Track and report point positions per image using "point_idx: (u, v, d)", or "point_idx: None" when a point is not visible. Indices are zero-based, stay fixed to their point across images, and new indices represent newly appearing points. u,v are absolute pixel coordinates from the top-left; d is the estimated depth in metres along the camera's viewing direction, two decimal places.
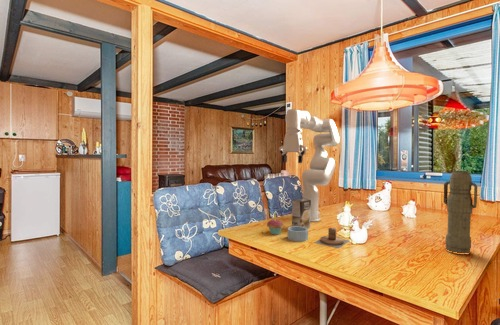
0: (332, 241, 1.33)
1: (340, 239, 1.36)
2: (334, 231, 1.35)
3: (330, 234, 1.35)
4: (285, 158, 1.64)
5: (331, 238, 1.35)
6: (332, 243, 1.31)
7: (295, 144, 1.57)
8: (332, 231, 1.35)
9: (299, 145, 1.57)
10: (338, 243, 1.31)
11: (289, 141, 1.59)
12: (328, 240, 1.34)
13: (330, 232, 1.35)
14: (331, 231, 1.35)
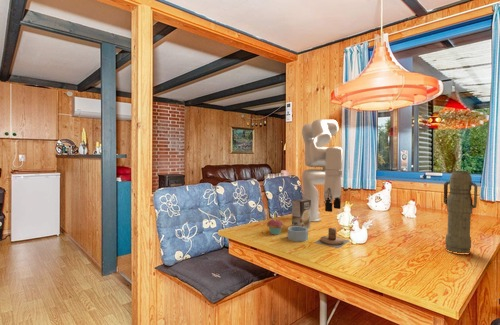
0: (332, 241, 1.33)
1: (340, 239, 1.36)
2: (334, 231, 1.35)
3: (330, 234, 1.35)
4: None
5: (331, 238, 1.35)
6: (332, 243, 1.31)
7: (340, 188, 1.36)
8: (332, 231, 1.35)
9: None
10: (338, 243, 1.31)
11: (337, 185, 1.33)
12: (328, 240, 1.34)
13: (330, 232, 1.35)
14: (331, 231, 1.35)
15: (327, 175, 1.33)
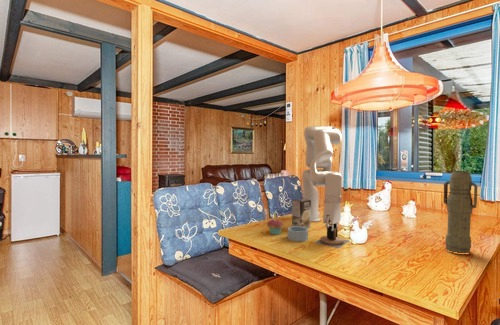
0: (332, 241, 1.33)
1: (340, 239, 1.36)
2: (334, 231, 1.35)
3: None
4: None
5: None
6: (332, 243, 1.31)
7: (339, 213, 1.37)
8: None
9: None
10: (338, 243, 1.31)
11: (337, 211, 1.34)
12: (328, 240, 1.34)
13: None
14: None
15: (326, 201, 1.34)
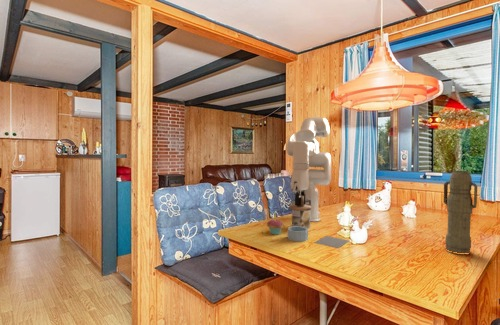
0: (299, 207, 1.37)
1: (308, 206, 1.40)
2: (302, 198, 1.39)
3: None
4: None
5: None
6: (299, 209, 1.35)
7: (307, 181, 1.41)
8: None
9: None
10: (305, 209, 1.35)
11: (304, 178, 1.38)
12: (296, 206, 1.38)
13: None
14: None
15: (294, 168, 1.38)
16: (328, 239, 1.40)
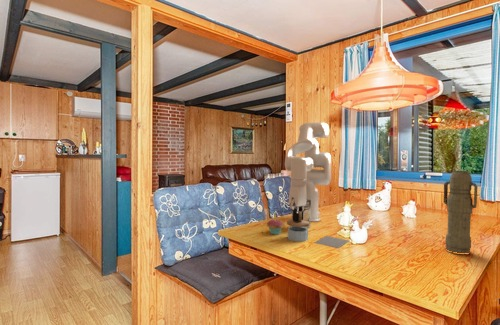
0: (297, 223, 1.37)
1: (306, 222, 1.40)
2: (299, 214, 1.39)
3: None
4: None
5: None
6: (297, 225, 1.35)
7: (305, 197, 1.41)
8: None
9: None
10: (302, 225, 1.36)
11: (302, 194, 1.38)
12: (293, 222, 1.38)
13: None
14: None
15: (292, 184, 1.38)
16: (328, 239, 1.40)
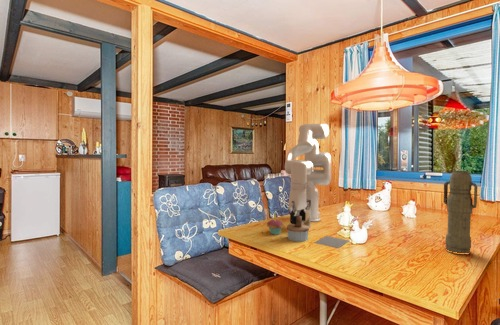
0: (297, 228, 1.37)
1: (305, 226, 1.40)
2: (299, 218, 1.39)
3: None
4: None
5: (297, 225, 1.39)
6: (297, 230, 1.36)
7: (305, 200, 1.41)
8: (297, 218, 1.39)
9: None
10: (302, 230, 1.36)
11: (302, 198, 1.38)
12: (293, 227, 1.39)
13: None
14: (297, 218, 1.39)
15: (292, 188, 1.38)
16: (328, 239, 1.40)
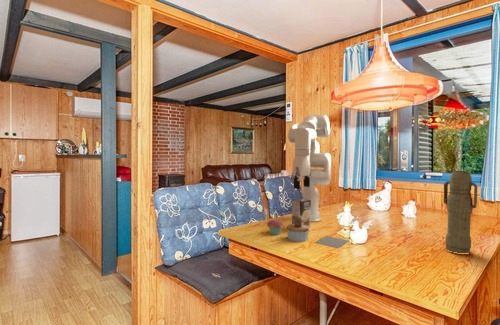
0: (297, 228, 1.37)
1: (305, 226, 1.40)
2: (299, 218, 1.39)
3: (296, 221, 1.40)
4: None
5: (297, 225, 1.39)
6: (297, 230, 1.36)
7: (309, 167, 1.43)
8: (297, 218, 1.39)
9: None
10: (302, 230, 1.36)
11: (305, 164, 1.40)
12: (293, 227, 1.39)
13: (296, 219, 1.40)
14: (297, 218, 1.39)
15: (296, 155, 1.40)
16: (328, 239, 1.40)
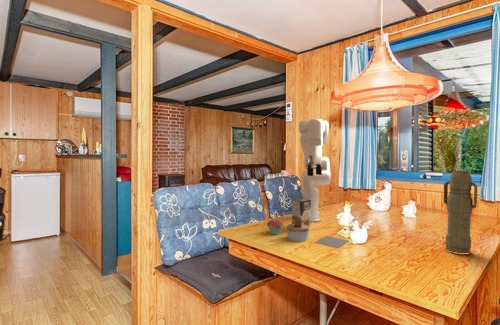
0: (297, 228, 1.37)
1: (305, 226, 1.40)
2: (299, 218, 1.39)
3: (296, 221, 1.40)
4: None
5: (297, 225, 1.39)
6: (297, 230, 1.36)
7: (321, 156, 1.54)
8: (297, 218, 1.39)
9: None
10: (302, 230, 1.36)
11: (318, 153, 1.51)
12: (293, 227, 1.39)
13: (296, 219, 1.40)
14: (297, 218, 1.39)
15: (309, 144, 1.51)
16: (328, 239, 1.40)
